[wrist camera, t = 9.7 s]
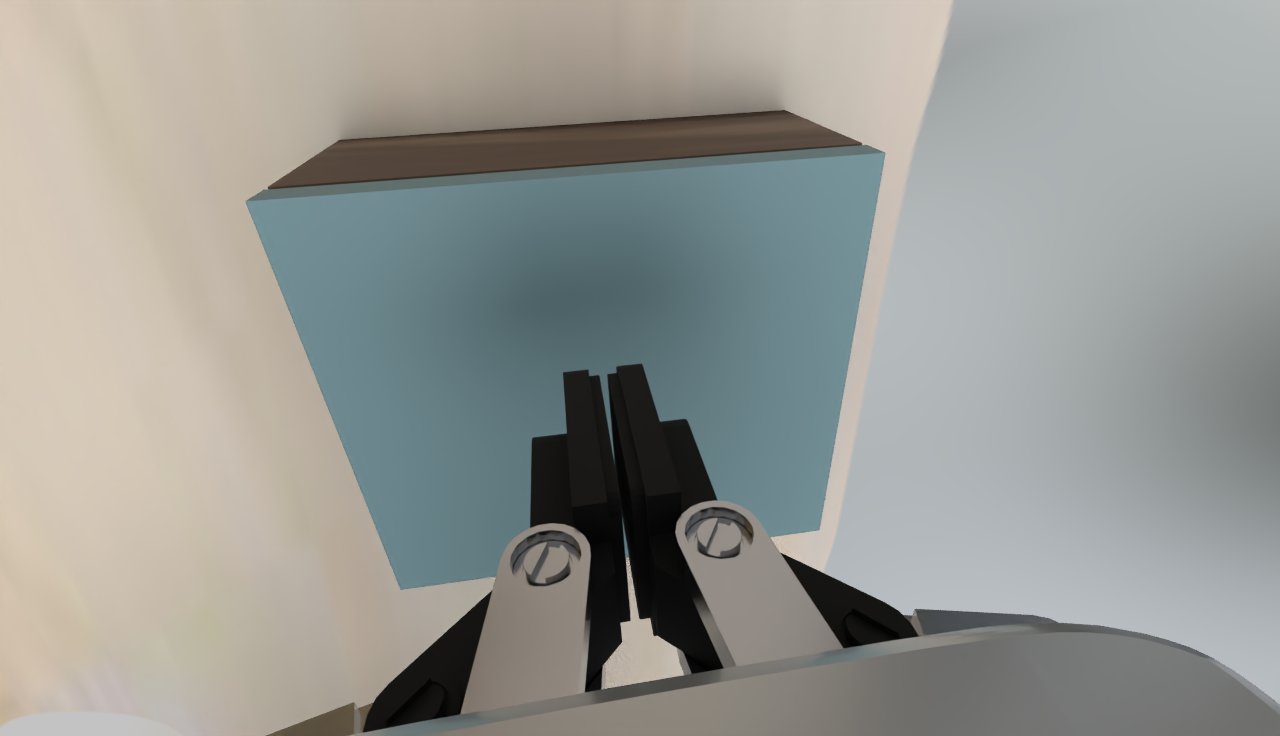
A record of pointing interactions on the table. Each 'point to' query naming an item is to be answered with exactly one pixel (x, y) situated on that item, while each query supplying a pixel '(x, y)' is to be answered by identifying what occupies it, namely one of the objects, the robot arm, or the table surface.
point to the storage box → (559, 147)
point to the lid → (575, 328)
